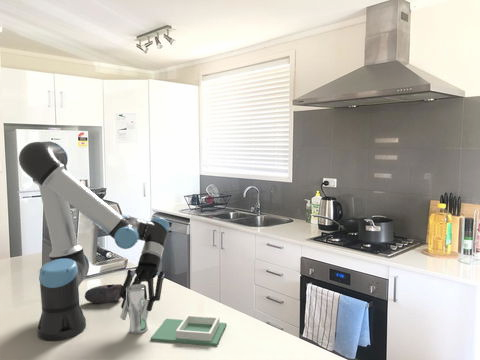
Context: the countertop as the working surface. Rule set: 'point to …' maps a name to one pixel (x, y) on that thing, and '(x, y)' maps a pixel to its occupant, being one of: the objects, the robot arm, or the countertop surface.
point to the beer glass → (136, 307)
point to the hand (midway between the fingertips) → (133, 319)
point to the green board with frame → (191, 330)
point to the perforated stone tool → (104, 293)
